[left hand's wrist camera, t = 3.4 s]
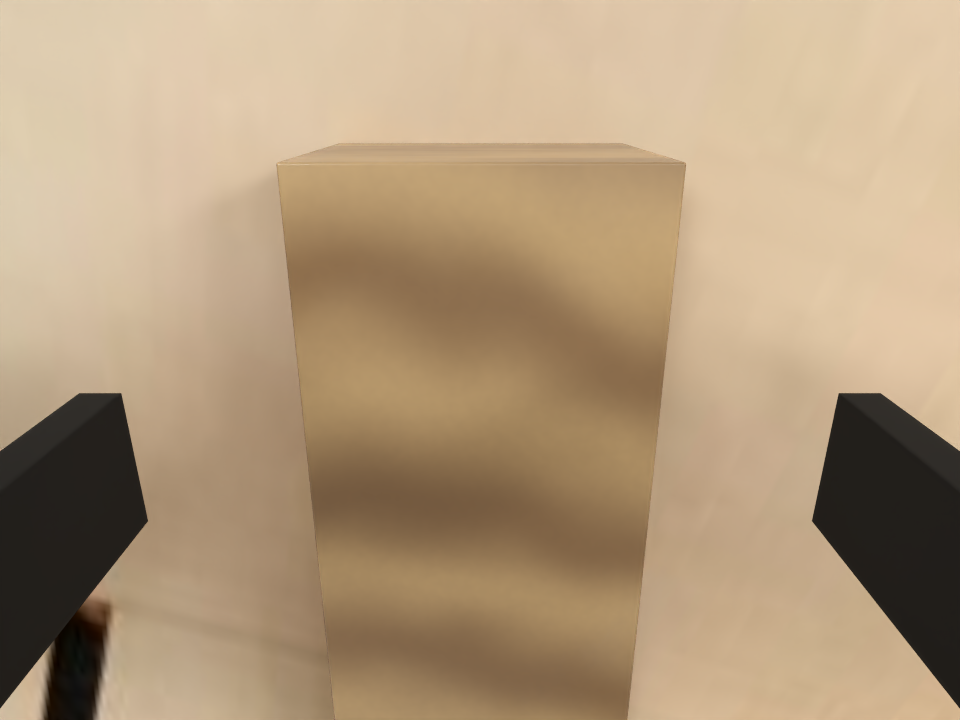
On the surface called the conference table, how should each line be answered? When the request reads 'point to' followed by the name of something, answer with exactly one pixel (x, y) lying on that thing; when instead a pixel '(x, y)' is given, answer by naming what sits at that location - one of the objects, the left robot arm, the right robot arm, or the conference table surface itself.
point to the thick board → (481, 417)
